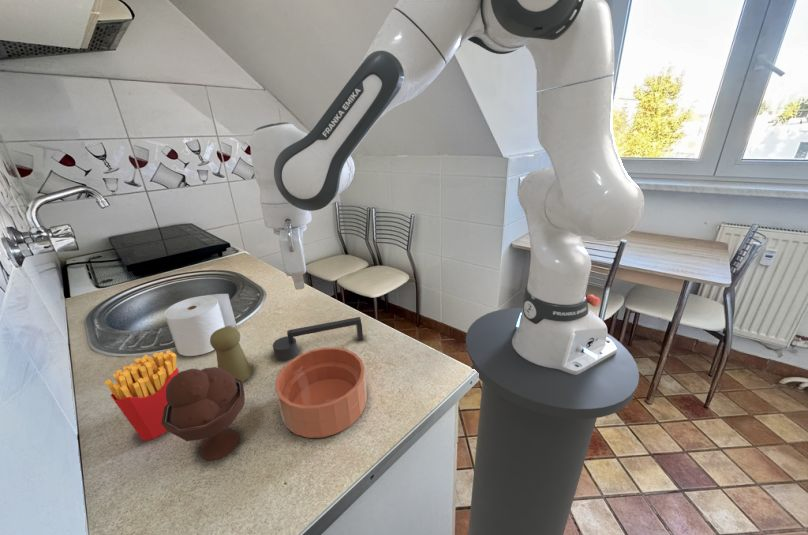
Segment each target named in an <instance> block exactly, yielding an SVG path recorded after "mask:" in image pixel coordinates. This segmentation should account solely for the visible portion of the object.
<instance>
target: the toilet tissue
mask: <svg viewBox="0 0 808 535" xmlns="http://www.w3.org/2000/svg"><path fill="white" fill-rule="evenodd" d="M163 314H164V319H165V321H166V323H167V327H168V329H169V332H170V334H171V337H172V340H173V343H174V346H175V348H176V351H177V352H178V354H180V355H181V356H184V357H196V356H201V355H205V354H208V353H210V352H213V351H214V350H215V349H214V348H213V347H212V346H211V343H210V337H211V335H212V334H213V333H214V332H215V331H216V330H218V329H221V328H224V327H237V321H236V318H235V313H234V311H233V307H232V304H231V300H230V295H229V293H215V294H212V293H211V294H207V295H206V294H205V295H199V296H194V297H189V298H186V299H184V300H180V301H178V302H176V303H174V304H172V305H170V306H169V307H168V308H167V309H166V310H165V311H164V312H163Z"/></svg>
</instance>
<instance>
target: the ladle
mask: <svg viewBox="0 0 808 535" xmlns="http://www.w3.org/2000/svg"><path fill="white" fill-rule="evenodd" d="M352 326H353V327H354V326H356V337H357V340H358V341H363V340H364V333H363V332H364V330H363V323H362V318H361V316H357V317H352V318H346V319H341V320H335V321H330V322H329V321H328V322H324V323H320V324H319V323H318V324H313V325H308V326H303V327H298V328H292V329H288V330H287V331H286V332H287V333H286V334H287V336H283V337H282V336H281V337H280V338H277V339H276V340H275V341H274V342H273V343H272V350H273V353H274V359H276V361H280V362H285V361H291V360H293V359H294V358H296V357H297V356H298V354H299V349H298V348H299V347H298V344H297V339H296V338H295V337H300V336H301V337H302V336H306V335H310V334H316V333H321V332H327V331H331V330H336V329H341V328H347V327H352Z"/></svg>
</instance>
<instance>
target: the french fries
mask: <svg viewBox="0 0 808 535" xmlns="http://www.w3.org/2000/svg"><path fill="white" fill-rule="evenodd" d="M177 356H178V355H177V354H176V353H175V352H172V351H171V350H170V349H169V350H166V351H165V353H164V352H163V351H160V352H154V353H152V356H149V355H148V354H145V355H142V358H141V357H138V358H135V359H134V361H135V362H133V363H130V364H129V365H125V366H123V367H122V369H123V370H122V369H121V368H120V369H118V370H116V371H115V373H113V374H112V376H113V378H114V380H115V381H116V383H113V381H112V380H110V378H108V379H107V380H105V381H104V384H105V385H106V386H107V388H108V389H109V390H110V392H111V394H110V398H111V399H112V400H113V401H114V403H115V404H116V405H117V407H118V408H119V409H120V411H121V413H122V414H123V415H124V416H125V418H126V420H128V422H129V424H130V425H131V426H132V428H133V429H134V430H135V432H136V433H137V435H138V436H139V437H140V439H141V440H142V441H143V442H146V441H151V440H154V439H156V438H158V437H159V436H161V435H163V434H165V433H166V432H168V431H167V430H166V429H165V428H164V427H163V426H162V424H161V422H162V416H163V411H164V407H165V406H166V405H167V404H168V402H167V399H166V387H167V385H168V383H169V382H170V380H171V379H172V377H174V376H175V375H177V374H178V373H179V372H180V371H179V368H178V367H177Z"/></svg>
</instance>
